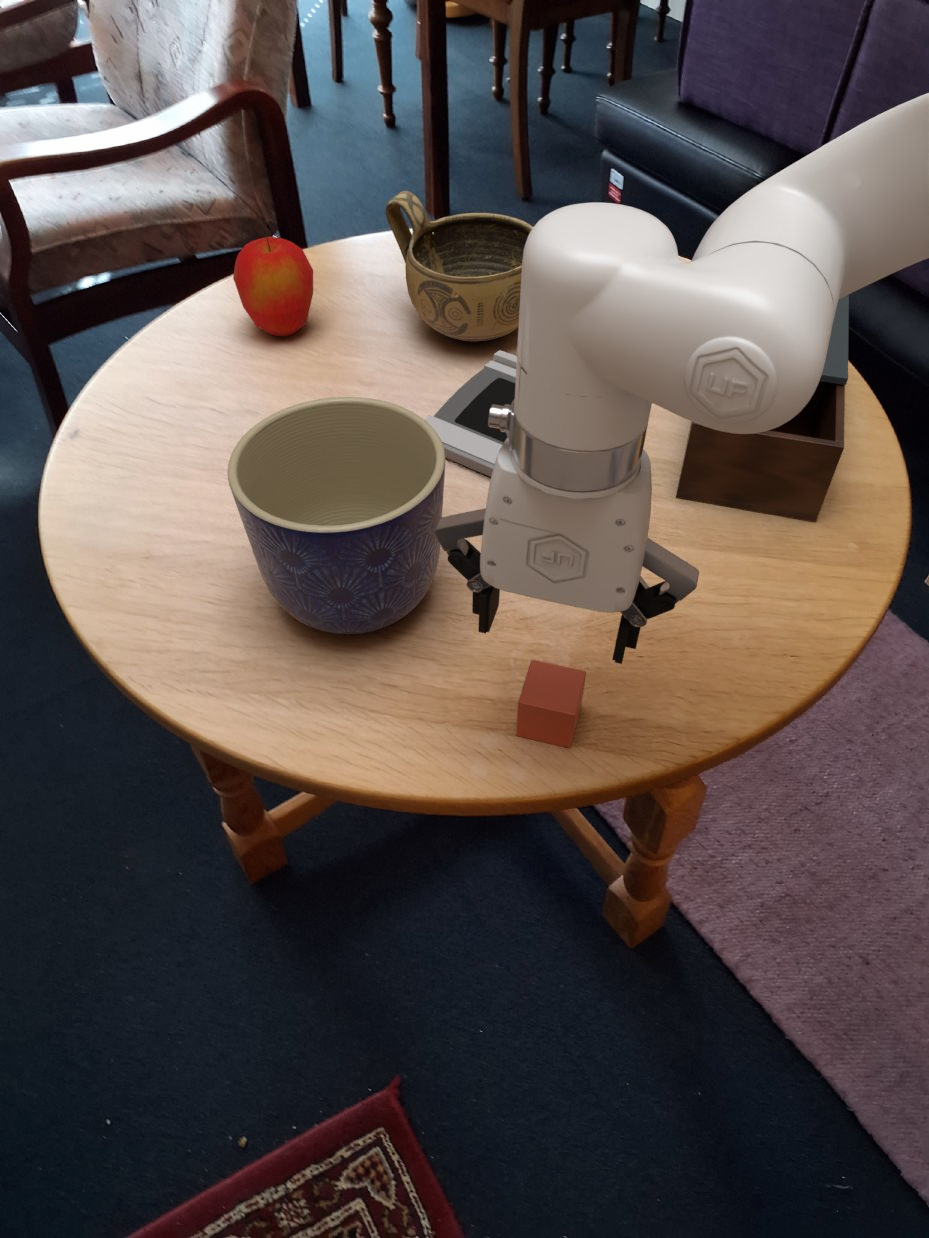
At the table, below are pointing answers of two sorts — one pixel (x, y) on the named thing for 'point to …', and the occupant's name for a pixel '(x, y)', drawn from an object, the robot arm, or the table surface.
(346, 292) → the table surface
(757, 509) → the box
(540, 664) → the block
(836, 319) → the lid
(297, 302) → the apple
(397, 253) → the table surface
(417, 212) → the ceramic bowl
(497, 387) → the alarm clock
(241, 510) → the planter
